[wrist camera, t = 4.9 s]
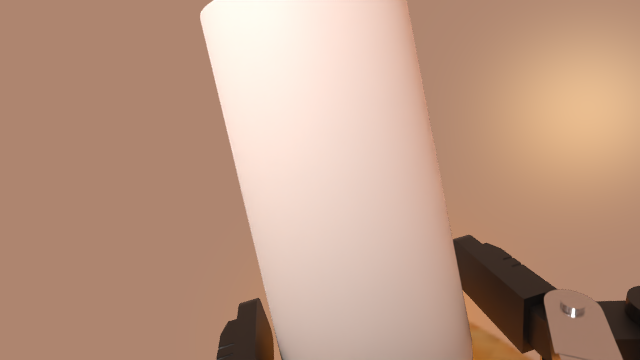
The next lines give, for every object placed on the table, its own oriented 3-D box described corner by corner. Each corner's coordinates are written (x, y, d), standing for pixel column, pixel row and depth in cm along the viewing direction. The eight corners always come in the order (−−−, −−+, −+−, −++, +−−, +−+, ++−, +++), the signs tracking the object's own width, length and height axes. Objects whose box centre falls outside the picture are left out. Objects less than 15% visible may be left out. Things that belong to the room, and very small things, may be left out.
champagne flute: (383, 415, 20) (294, 27, 12) (497, 489, 16) (488, -46, 7) (322, 536, 15) (105, 45, 7) (459, 689, 11) (317, -123, 3)
